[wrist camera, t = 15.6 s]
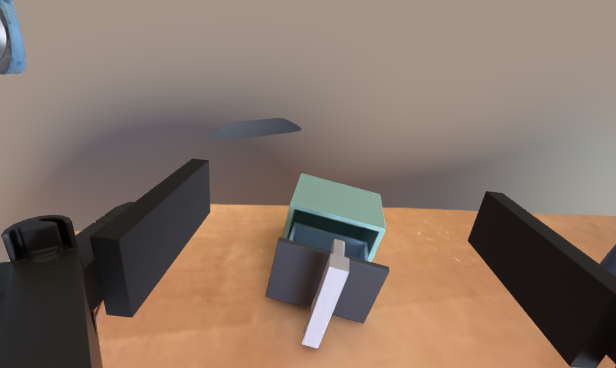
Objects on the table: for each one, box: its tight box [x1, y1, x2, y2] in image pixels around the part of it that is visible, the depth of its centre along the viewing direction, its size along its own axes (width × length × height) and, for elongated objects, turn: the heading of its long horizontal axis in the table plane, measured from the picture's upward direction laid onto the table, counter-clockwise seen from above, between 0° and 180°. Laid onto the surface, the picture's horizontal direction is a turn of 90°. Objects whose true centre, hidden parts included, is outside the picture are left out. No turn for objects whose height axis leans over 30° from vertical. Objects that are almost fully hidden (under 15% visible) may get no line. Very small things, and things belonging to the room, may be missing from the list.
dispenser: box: [282, 174, 386, 262], centre depth 38 cm, size 8×11×9 cm
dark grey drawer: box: [266, 222, 389, 349], centre depth 30 cm, size 12×11×10 cm
